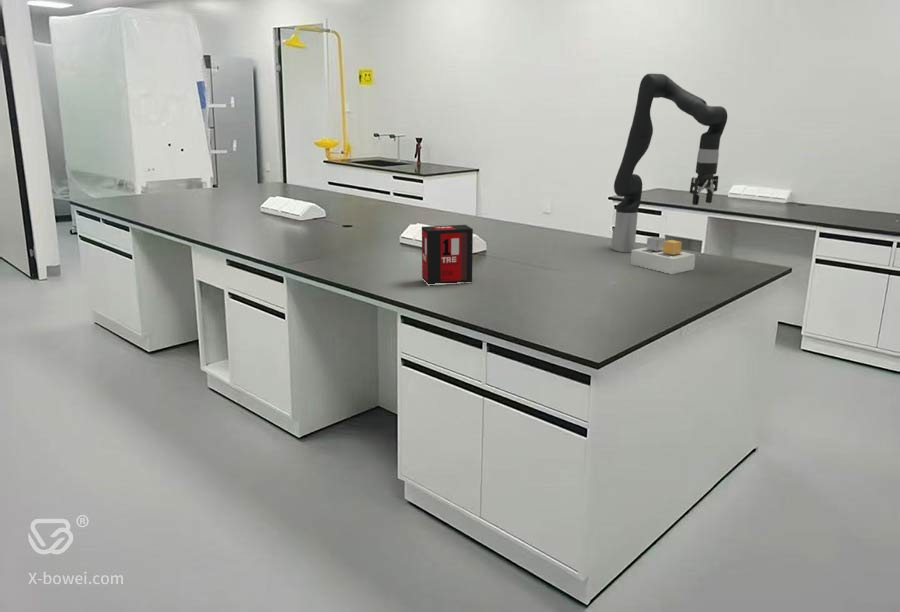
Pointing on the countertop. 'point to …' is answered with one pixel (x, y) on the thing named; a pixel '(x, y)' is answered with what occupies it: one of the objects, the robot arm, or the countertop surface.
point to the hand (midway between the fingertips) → (701, 203)
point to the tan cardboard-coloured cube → (672, 247)
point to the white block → (655, 243)
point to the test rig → (663, 260)
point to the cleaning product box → (447, 254)
